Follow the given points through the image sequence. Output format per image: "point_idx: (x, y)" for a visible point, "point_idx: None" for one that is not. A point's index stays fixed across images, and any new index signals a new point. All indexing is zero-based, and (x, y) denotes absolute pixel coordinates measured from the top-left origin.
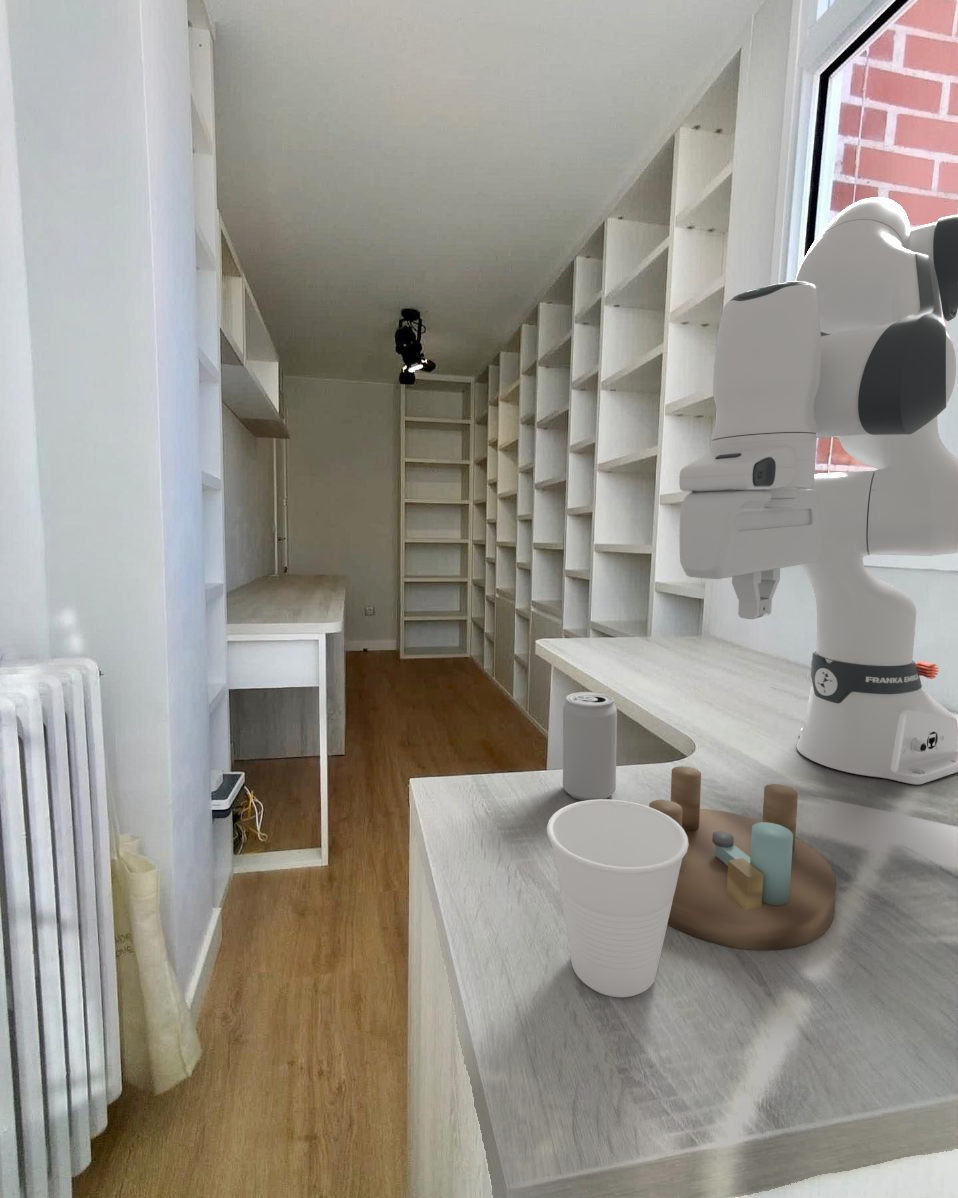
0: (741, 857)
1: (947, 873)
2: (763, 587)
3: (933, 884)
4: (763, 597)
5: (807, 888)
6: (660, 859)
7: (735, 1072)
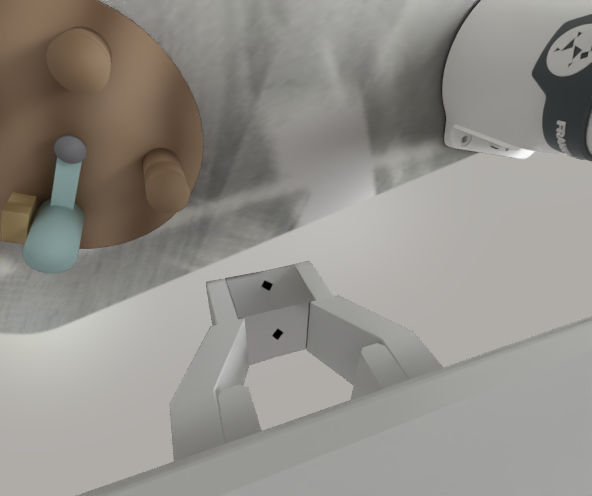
0: (65, 182)
1: (288, 230)
2: (341, 352)
3: (263, 233)
4: (307, 338)
5: (114, 225)
6: None
7: None
